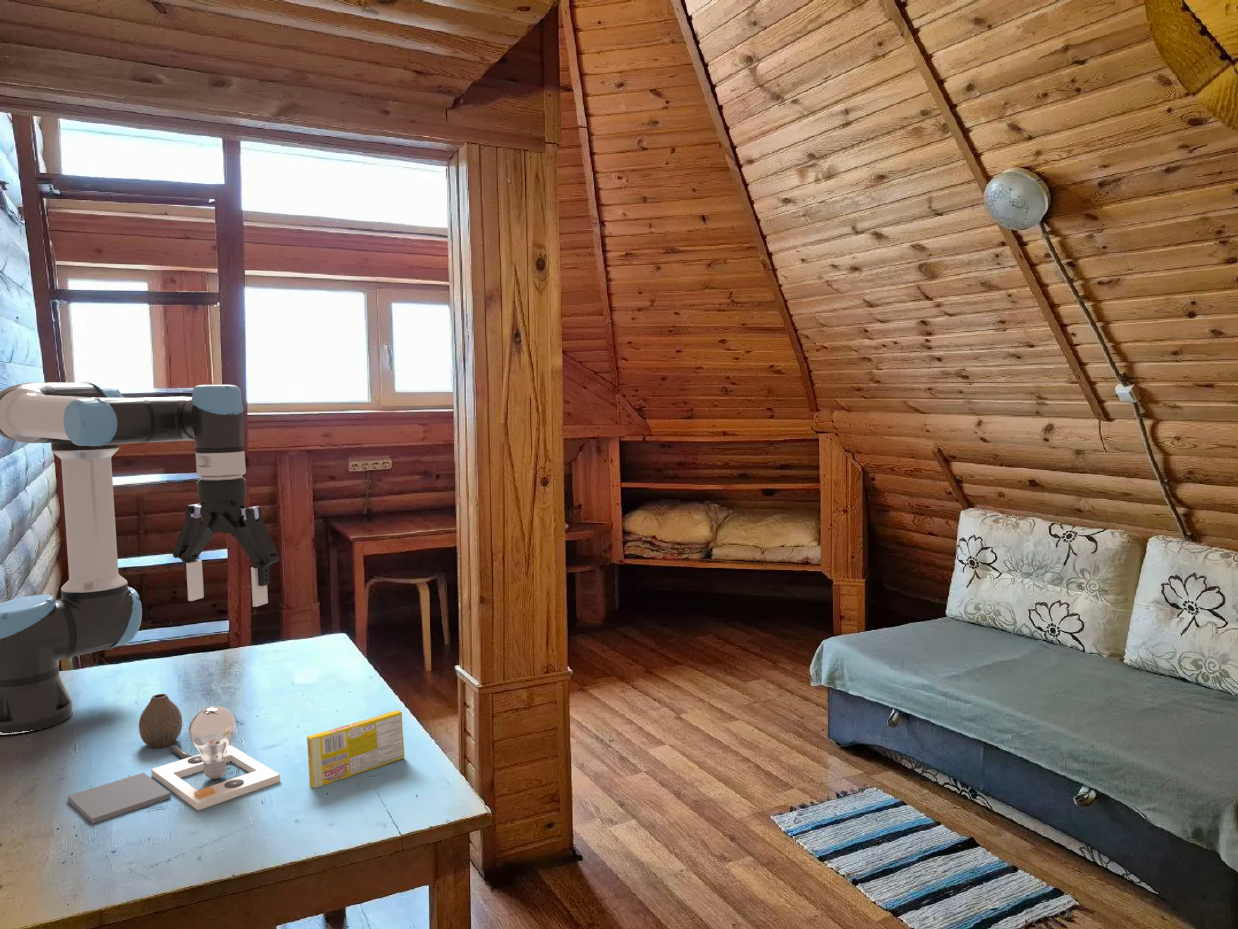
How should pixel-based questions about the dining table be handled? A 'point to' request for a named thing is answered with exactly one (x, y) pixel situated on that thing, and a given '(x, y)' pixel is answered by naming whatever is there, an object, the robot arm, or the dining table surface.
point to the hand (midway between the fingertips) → (227, 602)
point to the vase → (160, 722)
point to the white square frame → (218, 792)
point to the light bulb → (213, 738)
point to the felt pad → (118, 797)
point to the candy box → (355, 748)
